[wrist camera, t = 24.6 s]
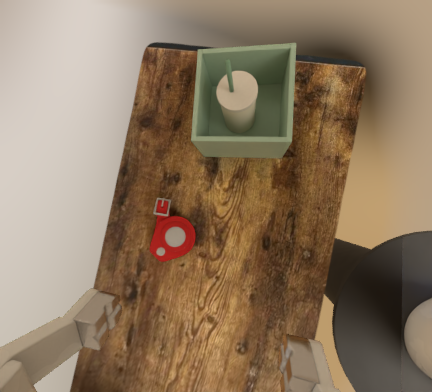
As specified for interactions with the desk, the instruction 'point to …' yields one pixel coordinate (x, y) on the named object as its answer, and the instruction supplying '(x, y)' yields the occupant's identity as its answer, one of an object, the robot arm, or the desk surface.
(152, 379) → the desk surface
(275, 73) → the bin
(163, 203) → the red flat rounded piece
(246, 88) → the paper cup
